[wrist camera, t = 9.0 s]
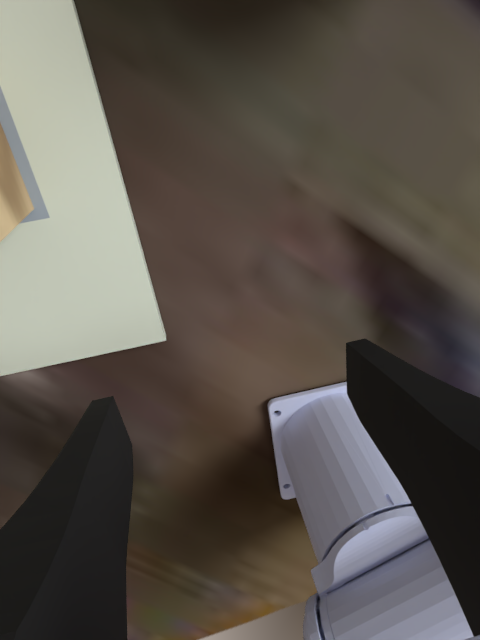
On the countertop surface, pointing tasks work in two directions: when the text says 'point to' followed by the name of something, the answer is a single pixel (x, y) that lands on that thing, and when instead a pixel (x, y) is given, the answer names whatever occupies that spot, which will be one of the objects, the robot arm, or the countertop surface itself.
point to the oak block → (11, 190)
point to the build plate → (65, 203)
